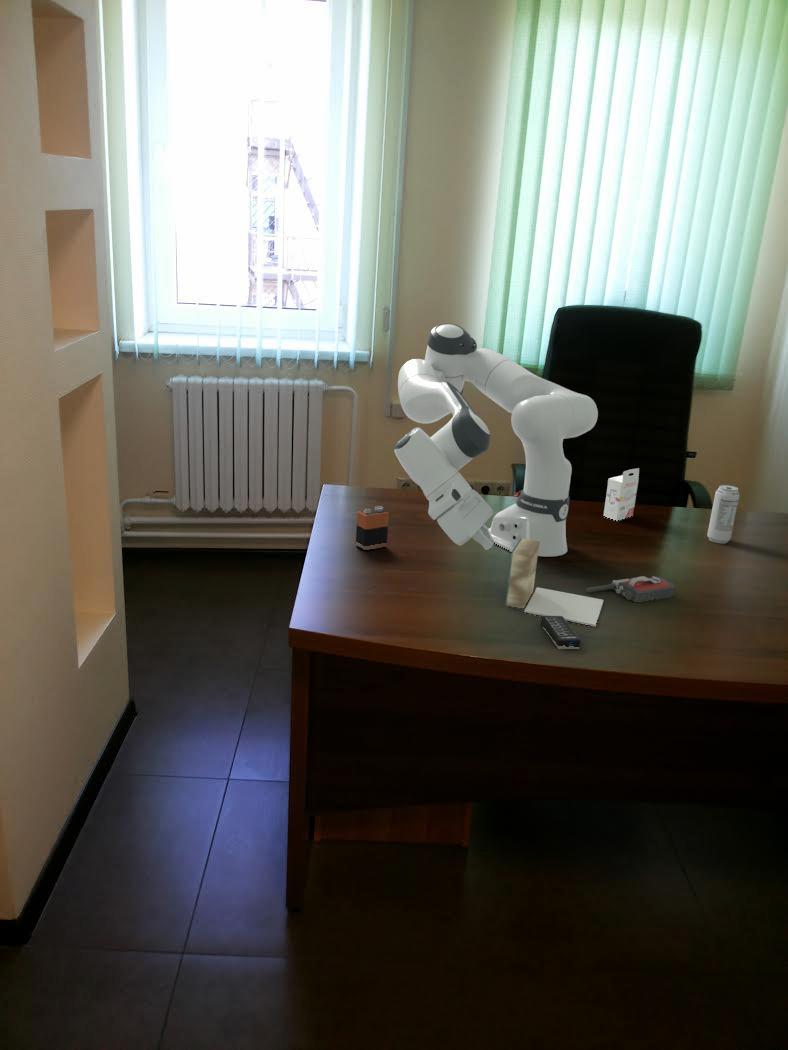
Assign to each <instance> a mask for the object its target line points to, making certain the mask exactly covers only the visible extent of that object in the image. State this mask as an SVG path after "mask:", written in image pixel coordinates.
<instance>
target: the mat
mask: <svg viewBox="0 0 788 1050" xmlns="http://www.w3.org/2000/svg"><path fill="white" fill-rule="evenodd" d="M603 604H604V599H601V598H595V597H590V596H586V595H585V596H584V595H581V594H574V593H569V592H564V591H559V590H552V589H549V588H543V587H538V586H537V587H536V588H535V591H533V593H532V595H531V597H530V599H529V601H528V603H527V605H526V606H525V608H524V612H528V613H533V614H538V615H543V616H563V617H564V618H565V620H568V621H572V622H577V623H581V624H585V625H591V626H595V627H594V628H596V626H597V624H596V623H598V621H599V617H600V613H601V610H602V608H603ZM524 612H523V613H524ZM597 620H598V621H597ZM585 625H584V626H585Z"/></svg>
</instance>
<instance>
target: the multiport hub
mask: <svg viewBox="0 0 788 1050" xmlns="http://www.w3.org/2000/svg"><path fill="white" fill-rule="evenodd" d="M541 624H542V626H543V627H544V628H545V629H546V631H547V632H548V633H549V635H550V636H551V637H552V639H553V640H554V641H555V642H556V644H557V645H558V646H563V645H565V646H566V647H569V646H574V647H580V648H581V642H582V639H581V638H580V637H579V635H578V634H577V632H576V631H575V630H574V629H573V628H572V626H571V624H569V622H567V621H566V620H565V618H564V617H563V616H542V617H541V622H540V625H541ZM542 626H541V627H542Z"/></svg>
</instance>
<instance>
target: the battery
mask: <svg viewBox="0 0 788 1050" xmlns="http://www.w3.org/2000/svg"><path fill="white" fill-rule="evenodd" d="M356 513H357V514H356V531H355V543H356V542H358V543H360V544H362V545H363V546H370V545H375V544H381V543H387V544H388V537H389V536H388V535H389V534H388V533H389V521H390V518H389V517H390V513H389V512H388V511H386V510H384V507H383V506H382V505H376V506H374V508H372V509H370V508H364V510H359V511H357V512H356Z"/></svg>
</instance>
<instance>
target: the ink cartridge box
mask: <svg viewBox="0 0 788 1050" xmlns="http://www.w3.org/2000/svg"><path fill="white" fill-rule="evenodd" d="M630 474H633V475H630ZM639 474H640V468H639V467H638V468H632V469H628V470H624V471H623V472H622V474H621V475H618V476H613V477H610V478H608V480H607V489H606V495H605V496H606V497H605V501H604V510H603V516H605V517H607V518H606V519H608V518H610V519H609V520H611V519H613V520H612V521H615V520H616V522H619V521H623V520H625V518H626V519H629V518H632V517H634V512H635V510H634V509H635V506H636V505H635V504H636V500H637V498H636V497H637V491H638V486H639V479H640V478H639V476H640V475H639ZM631 516H632V517H631ZM605 517H604V518H605ZM628 517H629V518H628ZM622 519H623V520H622ZM618 520H619V521H618Z"/></svg>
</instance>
